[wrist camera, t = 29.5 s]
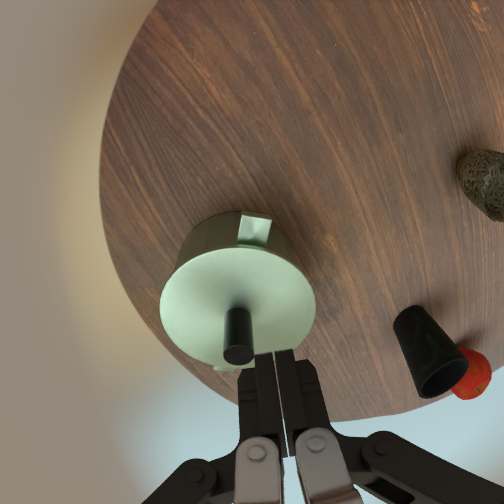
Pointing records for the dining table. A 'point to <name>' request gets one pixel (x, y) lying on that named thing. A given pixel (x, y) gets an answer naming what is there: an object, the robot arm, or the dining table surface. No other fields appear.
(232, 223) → the pot
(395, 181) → the dining table surface
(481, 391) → the apple
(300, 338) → the pot lid
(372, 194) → the dining table surface
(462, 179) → the cup
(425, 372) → the cup
